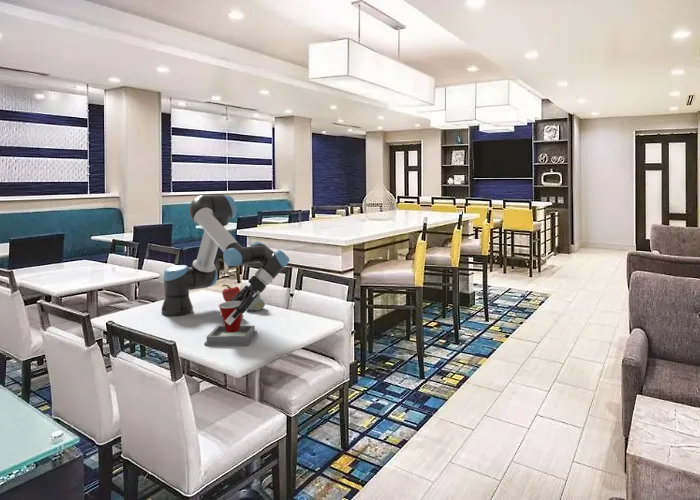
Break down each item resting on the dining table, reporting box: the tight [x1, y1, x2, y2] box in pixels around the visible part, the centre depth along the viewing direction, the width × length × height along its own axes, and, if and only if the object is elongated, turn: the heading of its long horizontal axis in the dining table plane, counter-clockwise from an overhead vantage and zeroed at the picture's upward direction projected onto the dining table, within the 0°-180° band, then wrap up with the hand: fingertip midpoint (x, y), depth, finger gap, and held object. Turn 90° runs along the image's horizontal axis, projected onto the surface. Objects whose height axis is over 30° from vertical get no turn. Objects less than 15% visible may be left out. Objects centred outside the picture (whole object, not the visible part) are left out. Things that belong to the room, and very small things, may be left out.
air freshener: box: [247, 291, 266, 312], centre depth 259 cm, size 11×8×10 cm
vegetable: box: [221, 284, 241, 302], centre depth 273 cm, size 11×10×10 cm
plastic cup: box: [217, 301, 242, 332], centre depth 210 cm, size 11×11×12 cm
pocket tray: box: [203, 324, 258, 347], centre depth 211 cm, size 18×18×4 cm
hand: (224, 319), depth 209 cm, fingers closed on plastic cup, 10 cm apart
